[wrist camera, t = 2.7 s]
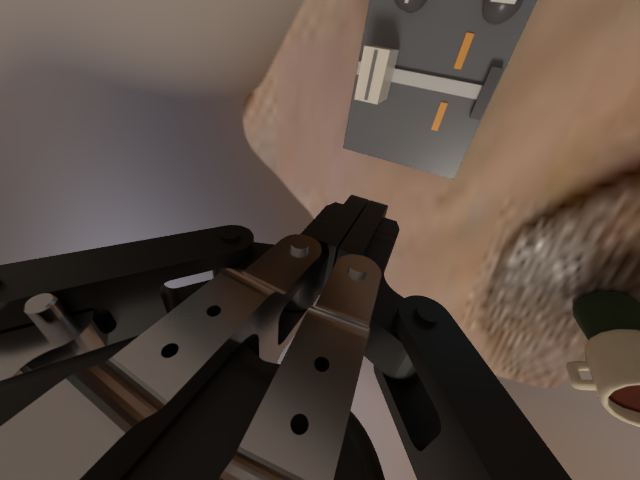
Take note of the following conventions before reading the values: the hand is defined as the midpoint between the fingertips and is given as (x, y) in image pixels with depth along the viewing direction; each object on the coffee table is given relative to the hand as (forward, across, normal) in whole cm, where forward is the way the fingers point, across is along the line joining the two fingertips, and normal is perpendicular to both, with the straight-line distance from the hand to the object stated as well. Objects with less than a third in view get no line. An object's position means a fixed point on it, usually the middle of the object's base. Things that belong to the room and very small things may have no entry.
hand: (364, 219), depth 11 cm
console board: (+26, +2, -3) cm, 27 cm away
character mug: (+27, -28, +17) cm, 42 cm away
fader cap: (+24, +6, -3) cm, 24 cm away
